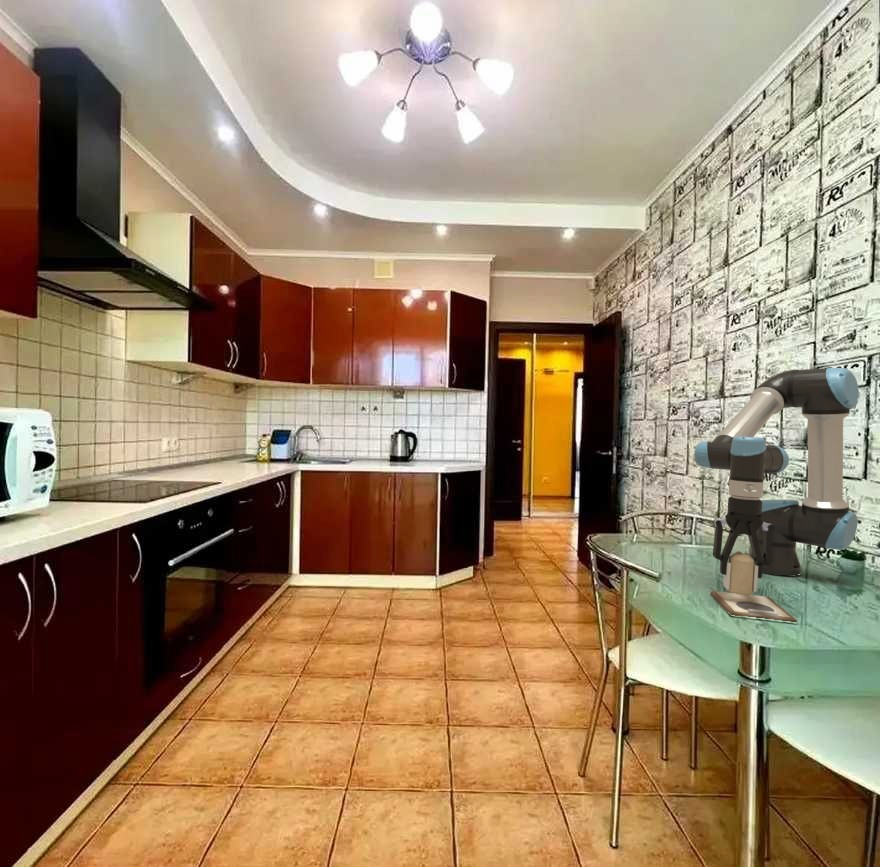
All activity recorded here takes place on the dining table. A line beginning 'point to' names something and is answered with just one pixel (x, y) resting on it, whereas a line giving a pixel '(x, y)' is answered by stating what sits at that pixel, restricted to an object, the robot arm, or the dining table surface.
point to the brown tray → (751, 606)
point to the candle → (741, 573)
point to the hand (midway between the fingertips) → (739, 588)
